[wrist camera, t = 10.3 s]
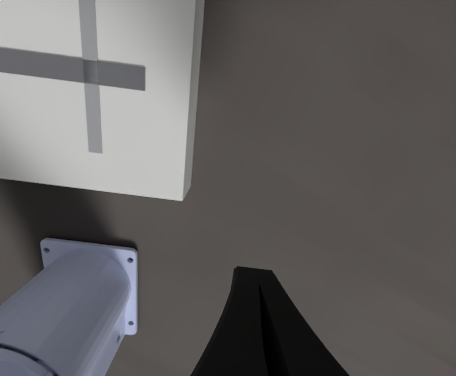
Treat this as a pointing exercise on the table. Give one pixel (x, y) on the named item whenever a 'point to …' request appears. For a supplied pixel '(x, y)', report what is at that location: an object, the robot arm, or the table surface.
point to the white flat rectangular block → (100, 93)
